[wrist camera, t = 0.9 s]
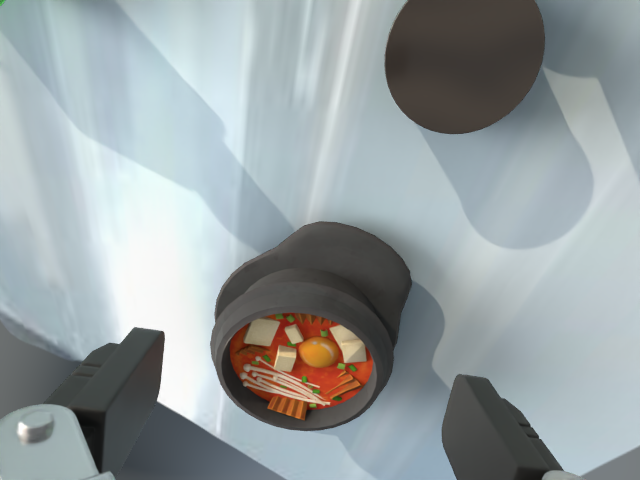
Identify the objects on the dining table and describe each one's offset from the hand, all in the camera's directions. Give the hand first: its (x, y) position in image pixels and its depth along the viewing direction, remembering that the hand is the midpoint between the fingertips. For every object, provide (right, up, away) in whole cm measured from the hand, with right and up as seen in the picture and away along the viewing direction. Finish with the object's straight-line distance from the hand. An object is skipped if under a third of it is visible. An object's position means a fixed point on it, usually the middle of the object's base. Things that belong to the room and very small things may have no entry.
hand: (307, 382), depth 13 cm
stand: (+10, +18, +22) cm, 31 cm away
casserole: (-1, -4, +36) cm, 36 cm away
